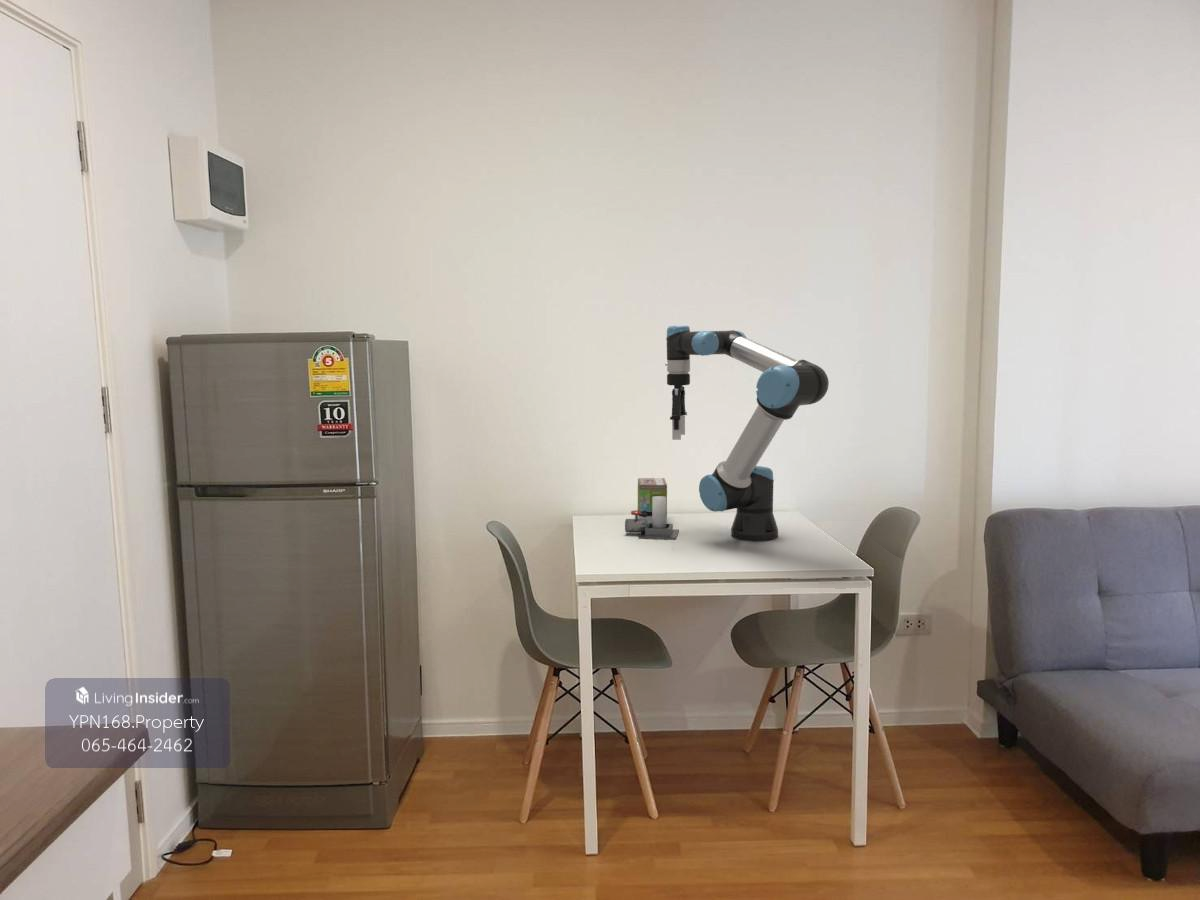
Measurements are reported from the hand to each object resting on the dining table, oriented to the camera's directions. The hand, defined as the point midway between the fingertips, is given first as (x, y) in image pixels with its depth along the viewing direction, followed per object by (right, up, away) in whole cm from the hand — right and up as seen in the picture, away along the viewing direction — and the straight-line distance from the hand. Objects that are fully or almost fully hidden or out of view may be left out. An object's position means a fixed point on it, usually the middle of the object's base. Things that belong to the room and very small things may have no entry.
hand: (678, 437), depth 284 cm
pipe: (-7, -32, -2) cm, 32 cm away
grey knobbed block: (-9, -32, -1) cm, 34 cm away
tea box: (-8, -30, +19) cm, 36 cm away
